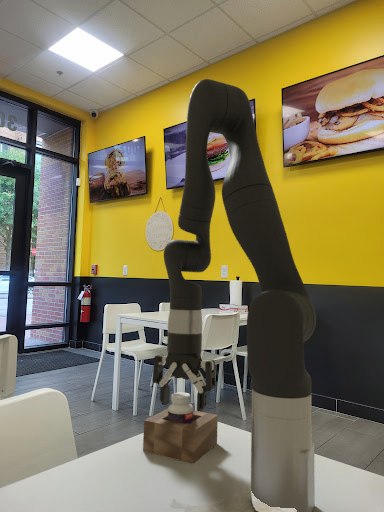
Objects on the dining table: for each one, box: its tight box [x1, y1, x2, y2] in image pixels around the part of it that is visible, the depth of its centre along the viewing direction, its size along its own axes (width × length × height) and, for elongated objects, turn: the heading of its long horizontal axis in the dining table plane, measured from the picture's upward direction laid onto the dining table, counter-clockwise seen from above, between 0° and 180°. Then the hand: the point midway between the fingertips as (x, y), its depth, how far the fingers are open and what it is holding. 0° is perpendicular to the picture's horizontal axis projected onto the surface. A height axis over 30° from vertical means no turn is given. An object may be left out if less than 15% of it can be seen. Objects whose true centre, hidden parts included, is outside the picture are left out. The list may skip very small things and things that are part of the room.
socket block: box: [142, 408, 219, 464], centre depth 79 cm, size 12×12×6 cm
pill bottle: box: [167, 391, 194, 425], centre depth 79 cm, size 5×5×10 cm
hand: (182, 407), depth 80 cm, fingers open, 8 cm apart
